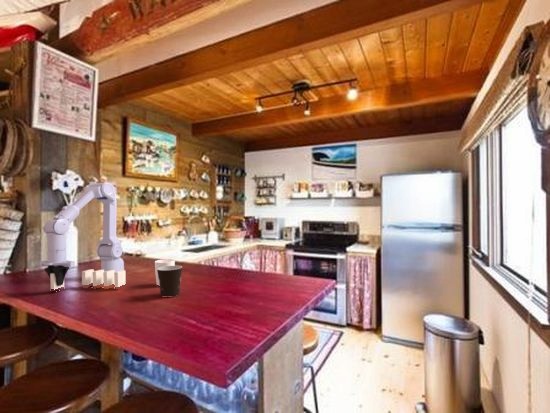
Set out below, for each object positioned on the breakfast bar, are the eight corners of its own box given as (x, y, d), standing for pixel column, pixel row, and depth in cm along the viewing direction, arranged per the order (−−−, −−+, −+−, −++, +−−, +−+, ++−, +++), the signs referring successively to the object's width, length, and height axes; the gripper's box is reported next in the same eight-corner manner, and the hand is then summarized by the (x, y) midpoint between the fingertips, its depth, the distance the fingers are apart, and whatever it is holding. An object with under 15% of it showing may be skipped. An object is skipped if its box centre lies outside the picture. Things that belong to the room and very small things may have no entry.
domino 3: (101, 286, 126) (100, 269, 126) (104, 286, 126) (104, 269, 126) (92, 289, 122) (92, 271, 122) (96, 289, 122) (95, 271, 122)
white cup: (178, 282, 130) (177, 259, 130) (170, 287, 123) (169, 262, 123) (160, 282, 131) (160, 259, 131) (151, 287, 123) (151, 262, 123)
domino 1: (61, 288, 121) (60, 271, 121) (64, 288, 121) (64, 271, 121) (50, 291, 117) (50, 273, 117) (54, 292, 116) (53, 273, 116)
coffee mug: (178, 298, 107) (177, 270, 107) (153, 298, 107) (153, 270, 107) (188, 289, 119) (187, 263, 119) (166, 289, 119) (165, 264, 119)
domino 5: (122, 287, 124) (122, 270, 124) (125, 287, 124) (125, 270, 124) (114, 290, 120) (114, 272, 120) (118, 290, 120) (117, 272, 120)
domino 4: (111, 286, 125) (111, 269, 125) (115, 286, 125) (114, 269, 125) (103, 289, 121) (103, 272, 121) (107, 289, 121) (106, 272, 121)
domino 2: (90, 286, 127) (90, 269, 127) (94, 286, 127) (93, 269, 127) (82, 288, 123) (81, 271, 123) (85, 289, 123) (85, 271, 123)
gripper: (31, 251, 116) (32, 287, 116) (63, 251, 113) (64, 288, 113) (48, 248, 123) (49, 282, 123) (79, 249, 120) (79, 283, 120)
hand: (57, 285), depth 119 cm, fingers closed on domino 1, 1 cm apart
